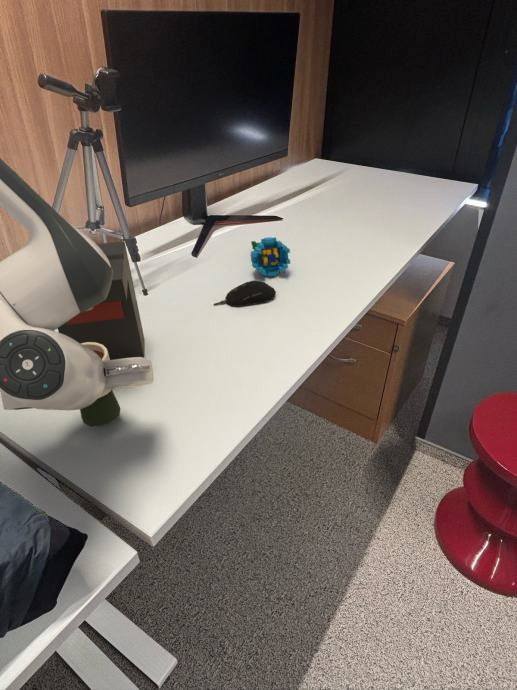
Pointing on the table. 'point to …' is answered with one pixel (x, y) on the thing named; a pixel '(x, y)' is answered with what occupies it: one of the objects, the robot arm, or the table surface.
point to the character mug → (100, 398)
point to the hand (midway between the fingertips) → (92, 383)
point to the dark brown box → (112, 312)
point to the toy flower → (269, 256)
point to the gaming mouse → (249, 294)
